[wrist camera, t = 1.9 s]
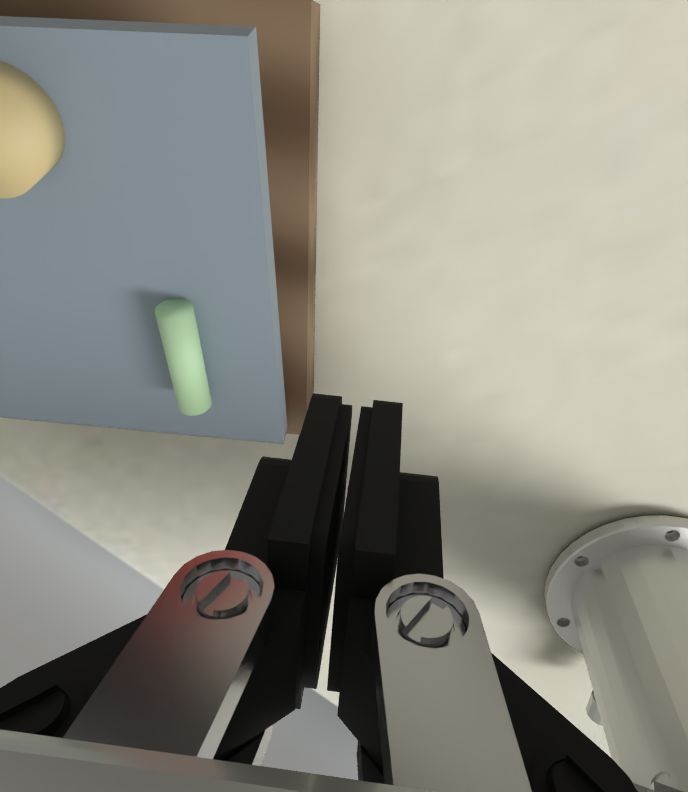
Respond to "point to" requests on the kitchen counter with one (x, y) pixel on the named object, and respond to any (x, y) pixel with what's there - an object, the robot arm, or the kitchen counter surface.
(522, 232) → the kitchen counter surface
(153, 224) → the plate
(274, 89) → the wooden board
